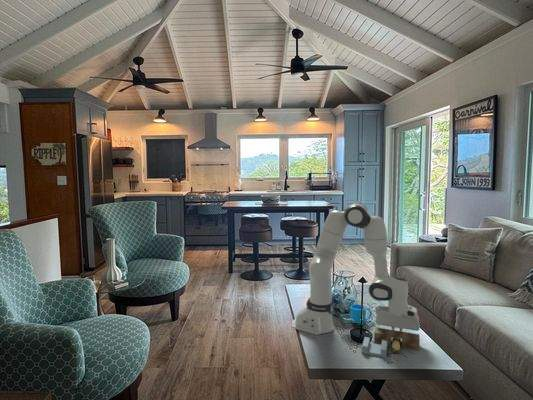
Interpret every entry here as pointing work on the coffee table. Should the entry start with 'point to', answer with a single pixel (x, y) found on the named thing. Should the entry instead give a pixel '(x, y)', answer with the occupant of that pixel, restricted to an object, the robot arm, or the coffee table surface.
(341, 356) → the coffee table surface
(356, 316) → the mug
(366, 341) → the cradle
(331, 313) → the robot arm
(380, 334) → the beam
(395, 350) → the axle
